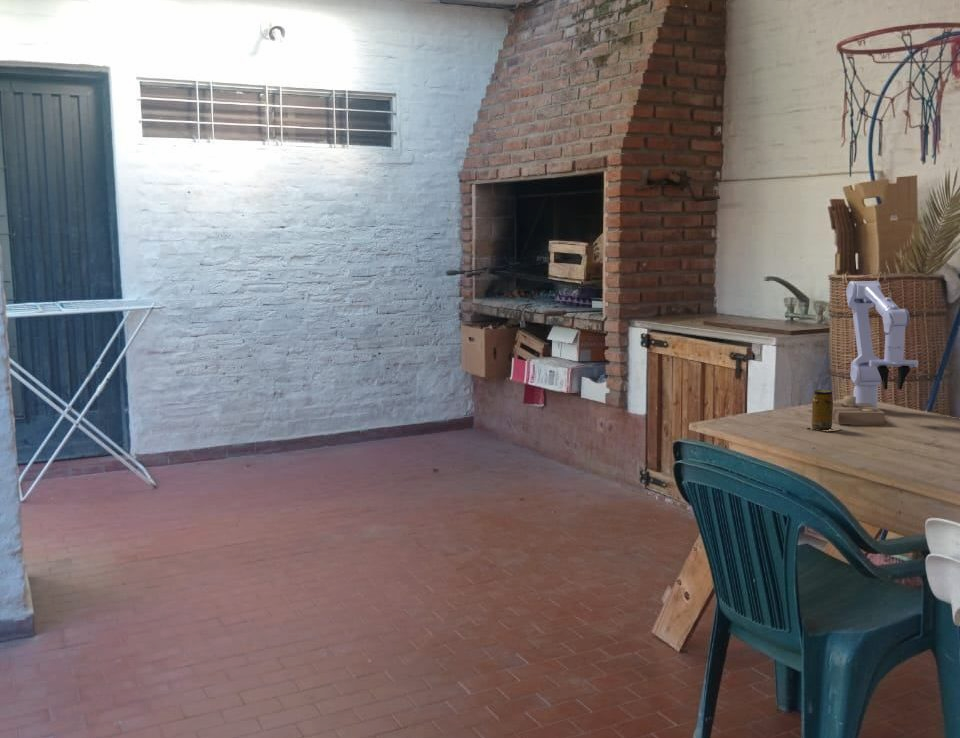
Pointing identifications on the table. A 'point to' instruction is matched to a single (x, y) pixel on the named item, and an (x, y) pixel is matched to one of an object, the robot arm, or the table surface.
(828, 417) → the condiment
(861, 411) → the board
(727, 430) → the table surface
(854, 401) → the peg
